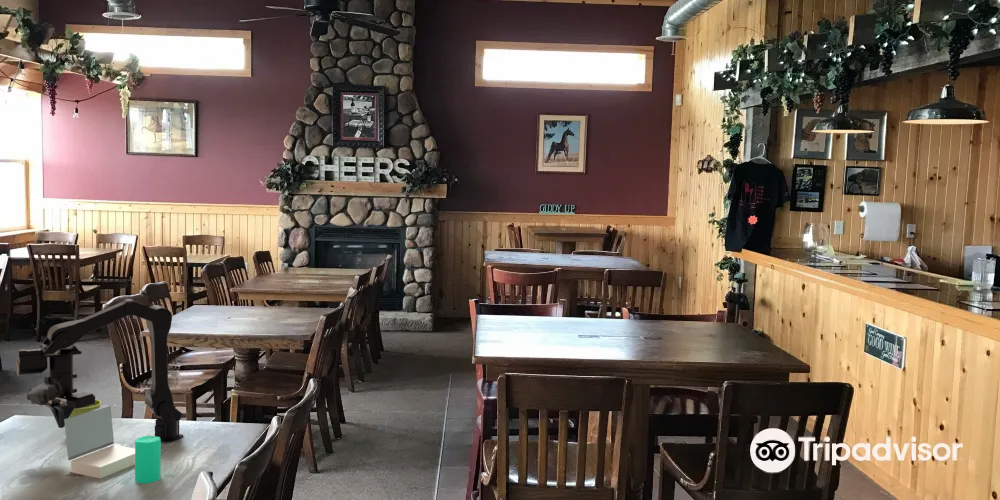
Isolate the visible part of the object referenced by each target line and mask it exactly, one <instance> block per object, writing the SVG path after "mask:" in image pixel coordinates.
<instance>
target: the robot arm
mask: <svg viewBox="0 0 1000 500" xmlns="http://www.w3.org/2000/svg"><path fill="white" fill-rule="evenodd" d="M131 315H132V316H135V317H138V318H141V319H144V320H145V323H146V326H147V330H148V332H149V335H150V350H151V351H150V353H151V354H150V355H151V385H150V388H149V389H145V390H144V394H145V401H144V404H145V405H146V406H147V408H148V409H149V410H150V411H151V412H152V413H153V414H154V415H155V416H156V417H157V418H156V419H155V425H154V436H155V437H160V439H161V443H171V442H174V441H176V440H179V439H181V438H183V437H184V434H181V433H180V420H182V416H183V412H181V411H180V410H178V409H177V408H176V407H175V403H174V399H173V394H172V391H171V389H170V386H169V370H168V368H169V367H168V366H169V364H168V362H169V361H168V358H169V357H168V336H169V334H170V331H171V327H172V322H173V314H172V312H171V311H170V310H169V309H168V308H165V307H164V306H162V305H158V304H155V305H148V304H145V303H142V302H139V301H135V300H133V299H131V298H126V299H123V301H120V302H119V303H118V302H117V304H113V305H111V306H109V307H107V308H104V309H101V310H99V311H97V312H95V313H92V314H90V315H88V316H85V317H84V318H79V319H76V320H70V321H69V320H68V321H65V322H61V323H58V324H55V325H52V326H51V327H50V328H49V329H48V331H47V337H46V338H45V339H44V340H43V342H41V344H39V345H40V346H39V347H38V348H33V349H18V350H17V355H16V360H15V370H16V375H17V377H22V376H31V375H41V374H43V372H46V370H48V375H45V377H44V380H43V381H44V382H43V383H41V384H39V385H37V386H36V387H33V388H30V389H29V390H28V392H27V396H26V397H27V398H26V399H27V401H28V400H29V401H30V402H31V404H32V405H39V406H45V407H47V408H49V409H50V411H51V412H52V414H53V417H54V420H55V422H56V424H57V427H58V428H59V429H63V428H65V422H64V419H67V418H70V415H71V413H72V411H73V410H74V408H76V409H77V408H82V407H85V406H89V405H92V404H95V399H96V395H95V394H93V393H90V392H86V391H85V392H84V391H82V392H79V393H78V388H74V379H76V378H78V373H74V356H75V355H82V353H83V352H82V351H81V350H80V349H79V348H78V347H77V346H76V345H75V344H76V343H77V342H80V341H81V340H82V339H83V338H84V337H85V336H86V335H87V336H88V334H89V333H92V332H95V331H96V330H98V329H101V328H103V327H106V326H107V325H110V324H112V323H114V322H117V321H118V320H121V319H123V318H126V317H128V316H131ZM75 393H76V394H75Z"/></svg>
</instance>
